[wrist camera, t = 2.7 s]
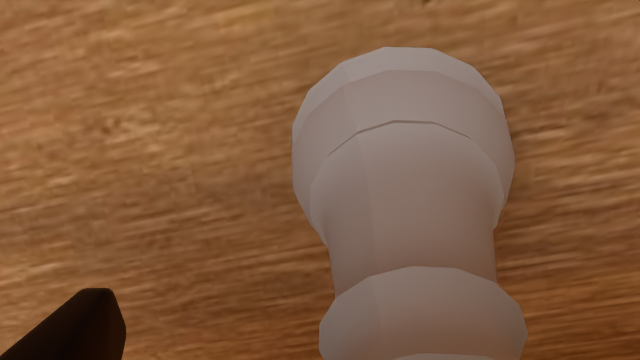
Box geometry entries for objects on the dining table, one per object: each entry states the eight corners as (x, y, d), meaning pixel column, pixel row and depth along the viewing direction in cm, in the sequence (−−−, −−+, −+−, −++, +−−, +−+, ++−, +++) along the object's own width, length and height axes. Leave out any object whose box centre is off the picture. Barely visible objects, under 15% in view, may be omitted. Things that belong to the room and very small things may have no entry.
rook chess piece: (250, 105, 12) (131, 486, 6) (445, -9, 11) (590, 332, 4) (359, 245, 14) (364, 645, 8) (536, 166, 13) (729, 581, 6)
